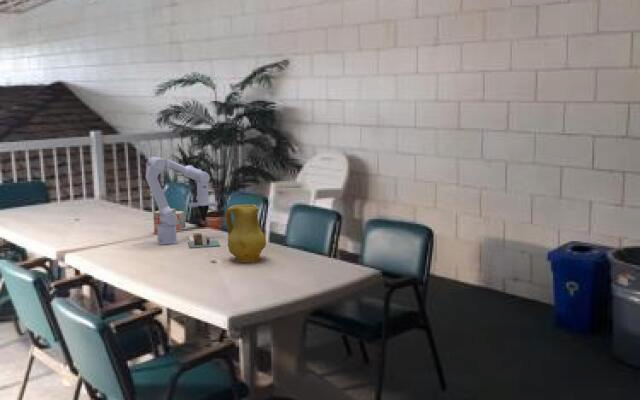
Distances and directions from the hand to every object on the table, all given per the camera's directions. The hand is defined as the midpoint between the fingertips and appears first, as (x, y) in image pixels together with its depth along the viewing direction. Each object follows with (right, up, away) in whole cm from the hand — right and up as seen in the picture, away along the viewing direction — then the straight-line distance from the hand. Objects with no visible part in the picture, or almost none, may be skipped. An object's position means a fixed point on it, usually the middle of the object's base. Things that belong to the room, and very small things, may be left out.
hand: (203, 220), depth 339 cm
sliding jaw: (+3, -11, -14) cm, 18 cm away
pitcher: (+27, -16, -43) cm, 53 cm away
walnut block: (0, -11, -15) cm, 19 cm away
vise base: (+3, -12, -14) cm, 19 cm away
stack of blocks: (-22, -7, +21) cm, 31 cm away
